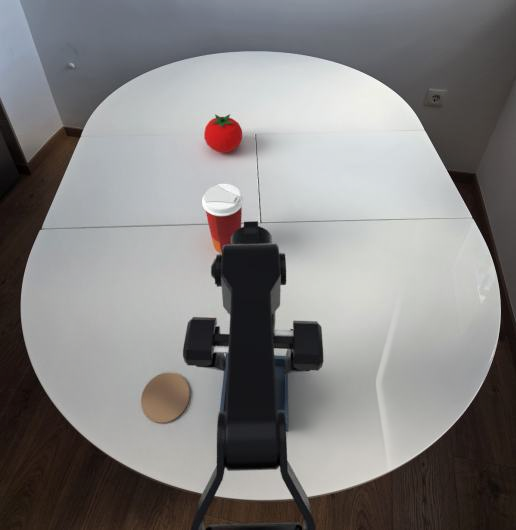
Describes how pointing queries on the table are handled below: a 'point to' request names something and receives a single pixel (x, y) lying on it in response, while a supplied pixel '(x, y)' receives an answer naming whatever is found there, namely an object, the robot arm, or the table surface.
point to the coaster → (165, 397)
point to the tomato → (223, 134)
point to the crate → (280, 387)
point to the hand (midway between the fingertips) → (254, 368)
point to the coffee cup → (223, 213)
